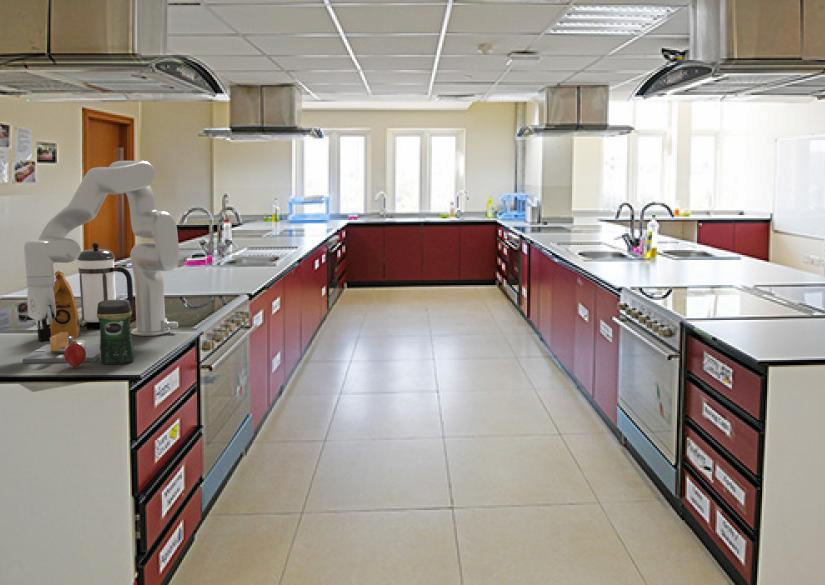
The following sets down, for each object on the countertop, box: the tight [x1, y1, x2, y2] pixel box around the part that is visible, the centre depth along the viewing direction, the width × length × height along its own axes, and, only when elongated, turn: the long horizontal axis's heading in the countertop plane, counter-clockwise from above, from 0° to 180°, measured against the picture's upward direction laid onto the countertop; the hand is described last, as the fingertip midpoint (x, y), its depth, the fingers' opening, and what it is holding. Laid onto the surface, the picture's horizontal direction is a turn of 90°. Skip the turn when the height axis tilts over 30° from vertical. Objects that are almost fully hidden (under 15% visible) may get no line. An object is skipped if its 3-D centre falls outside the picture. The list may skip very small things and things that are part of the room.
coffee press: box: [74, 242, 134, 327], centre depth 291 cm, size 17×16×30 cm
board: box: [22, 342, 100, 364], centre depth 243 cm, size 20×20×2 cm
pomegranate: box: [64, 341, 86, 369], centre depth 227 cm, size 6×6×8 cm
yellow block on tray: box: [49, 332, 87, 354], centre depth 240 cm, size 15×10×6 cm, turn 1°
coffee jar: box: [97, 299, 135, 365], centre depth 233 cm, size 10×8×19 cm
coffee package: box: [51, 270, 81, 339], centre depth 268 cm, size 10×12×22 cm
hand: (44, 341), depth 240 cm, fingers closed
